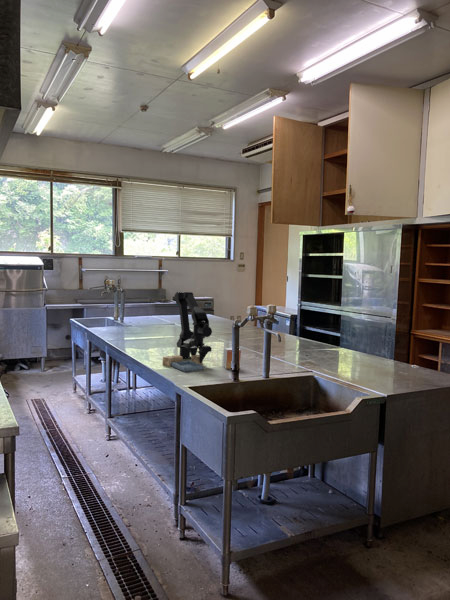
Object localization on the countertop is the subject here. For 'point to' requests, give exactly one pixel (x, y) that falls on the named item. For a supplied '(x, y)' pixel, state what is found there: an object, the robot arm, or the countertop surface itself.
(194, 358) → the oak cube
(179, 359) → the oak cube
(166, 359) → the oak cube
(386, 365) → the countertop surface
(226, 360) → the small box
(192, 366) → the tray
